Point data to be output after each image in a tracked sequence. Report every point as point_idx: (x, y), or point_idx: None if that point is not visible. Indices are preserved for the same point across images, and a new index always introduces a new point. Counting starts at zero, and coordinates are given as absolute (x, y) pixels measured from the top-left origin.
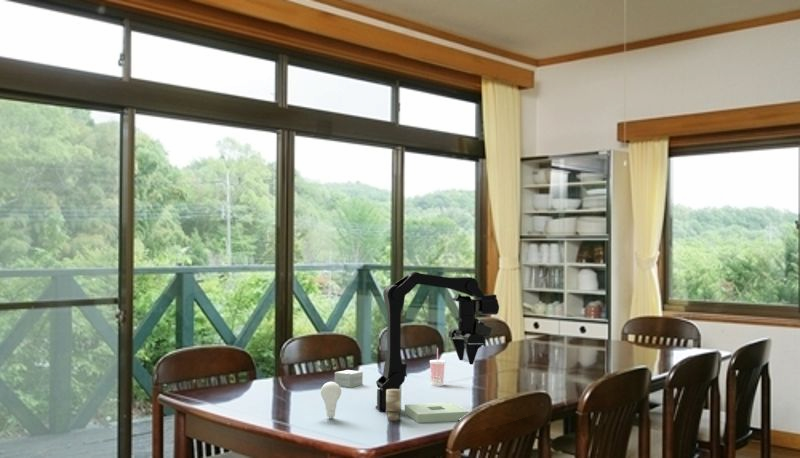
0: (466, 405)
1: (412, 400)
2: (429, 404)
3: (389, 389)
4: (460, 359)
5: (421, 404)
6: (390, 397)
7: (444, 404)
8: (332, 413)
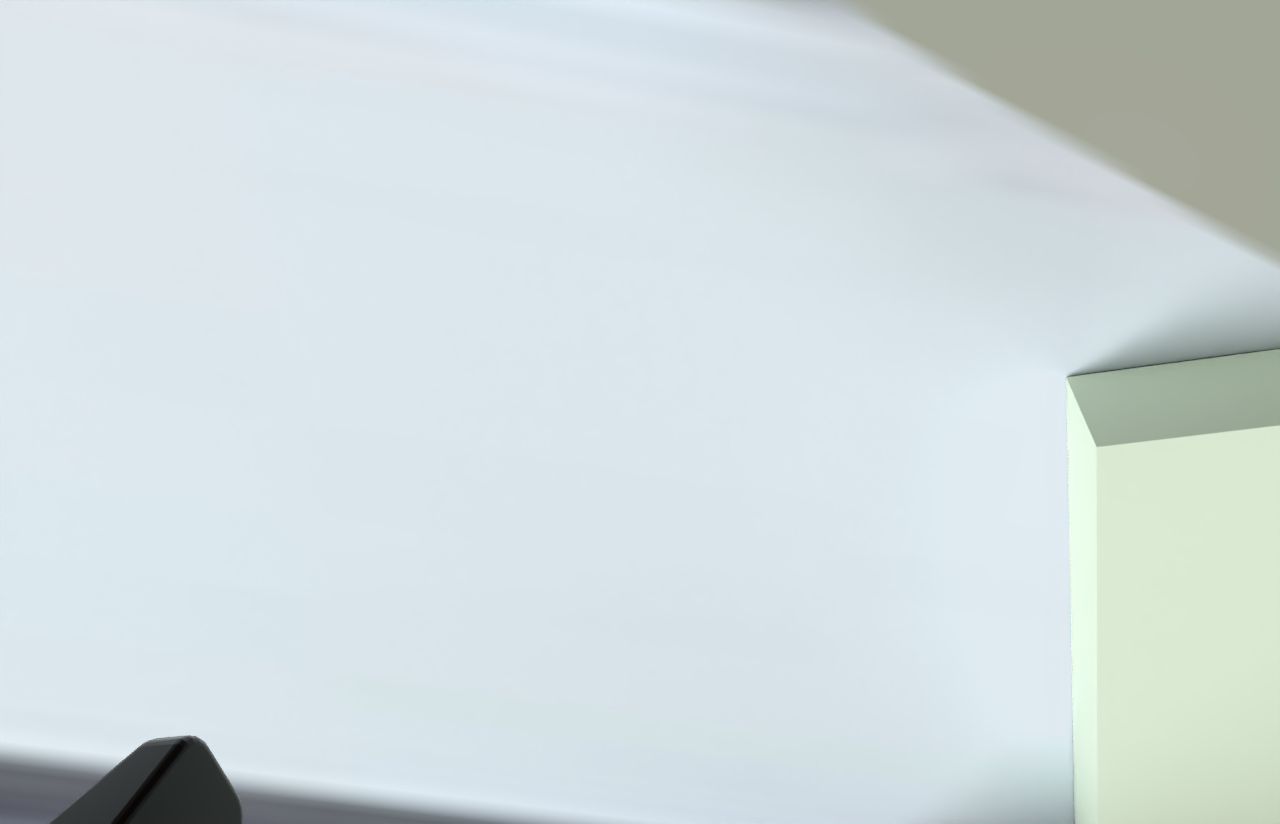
0: (721, 95)
1: (391, 710)
2: (1162, 740)
3: None
4: (228, 819)
5: (1136, 813)
6: None
7: (1229, 580)
8: None
